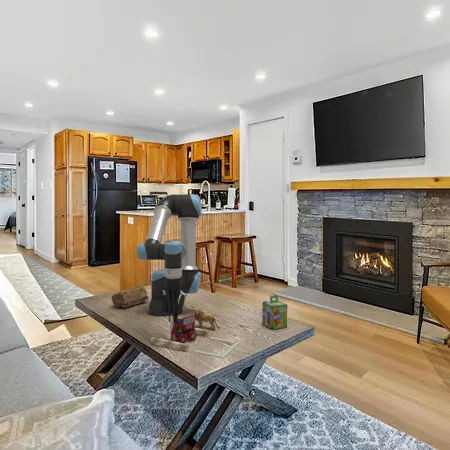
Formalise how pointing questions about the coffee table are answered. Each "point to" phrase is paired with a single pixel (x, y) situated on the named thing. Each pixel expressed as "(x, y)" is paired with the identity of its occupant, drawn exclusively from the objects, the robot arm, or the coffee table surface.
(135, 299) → the petrified wood
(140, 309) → the coffee table surface
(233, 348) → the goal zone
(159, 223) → the robot arm
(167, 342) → the lane walls
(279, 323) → the chalk box
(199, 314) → the lion figurine
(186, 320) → the toy fire truck
